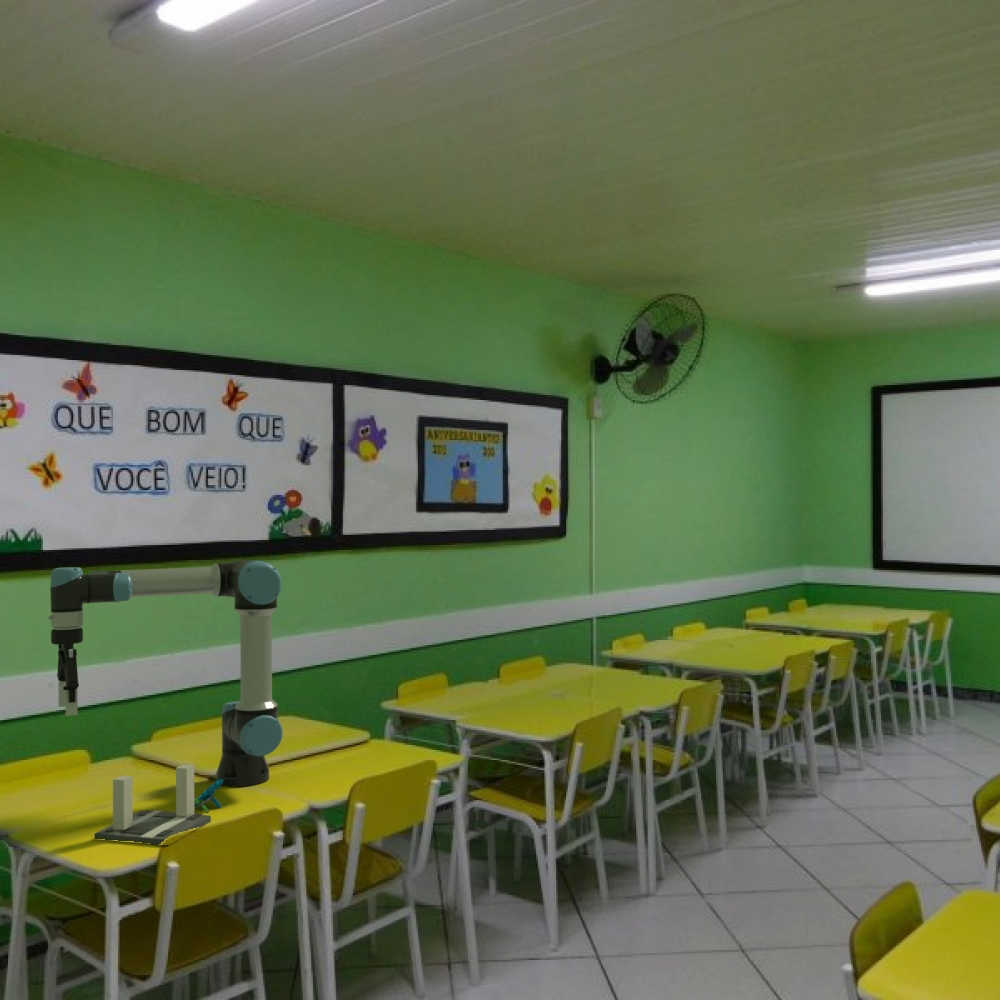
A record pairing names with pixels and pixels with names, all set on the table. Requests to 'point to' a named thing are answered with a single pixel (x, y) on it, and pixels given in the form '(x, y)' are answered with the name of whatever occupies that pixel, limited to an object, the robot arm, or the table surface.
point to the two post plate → (162, 816)
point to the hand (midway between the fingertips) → (67, 710)
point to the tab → (122, 802)
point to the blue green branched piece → (208, 796)
